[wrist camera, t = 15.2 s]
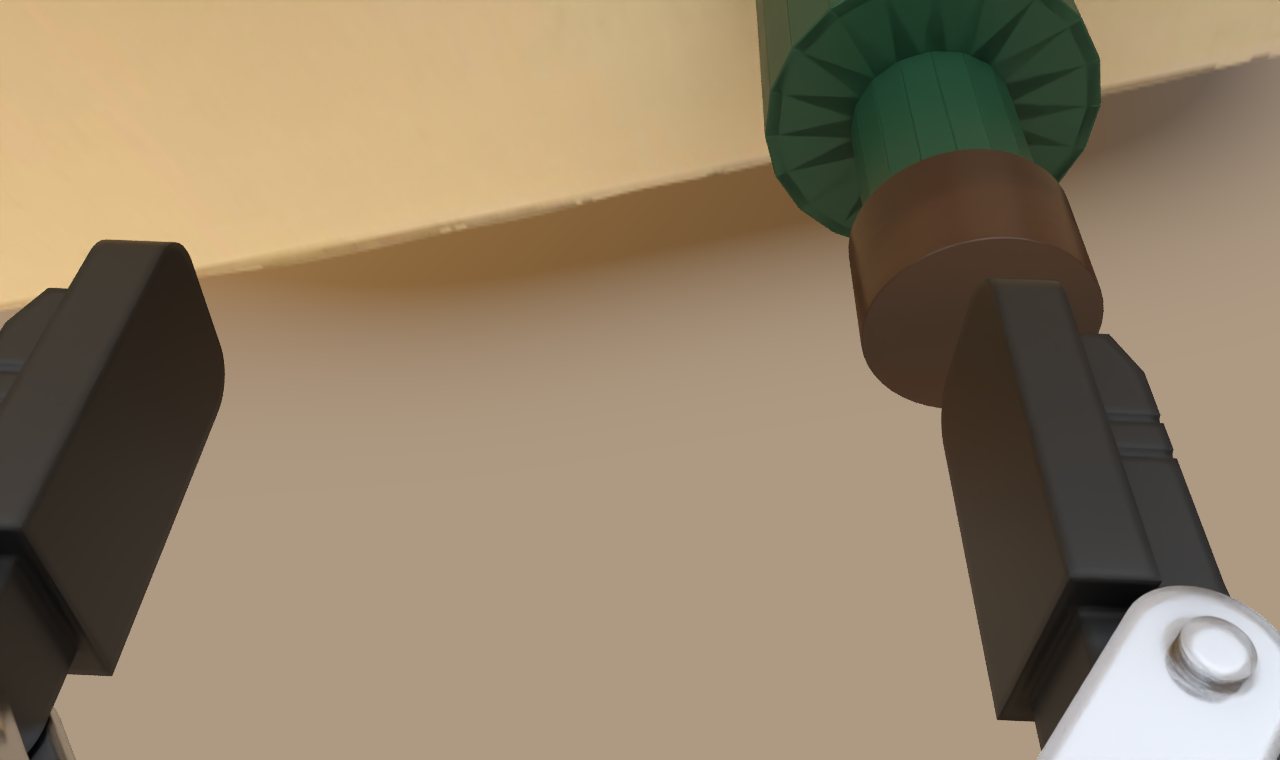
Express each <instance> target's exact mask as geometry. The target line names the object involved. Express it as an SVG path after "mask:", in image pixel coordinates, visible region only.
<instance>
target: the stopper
mask: <svg viewBox="0 0 1280 760" xmlns="http://www.w3.org/2000/svg"><path fill="white" fill-rule="evenodd" d="M849 260H850V268H851V275H852V282H853V289H854V296H855V303H856V311H857V318H858V325H859V332H860V339H861V346H862V350H863V355H864V358H865V359H866V362H867V364H868V366H869V368H870V369H871V371H872V372H873V374H874V375H875V376H876V377H877V378H878V379H879V380H880V381H881V382H882V383H883V384H884V385H885V386H886V387H888V388H889V389H890V390H892V391H893V392H895V393H897V394H898V395H900V396H902V397H904V398H906V399H909V400H911V401H914V402H916V403H920V404H923V405H927V406H933V407H937V408H942V400H943V392H944V387H945V383H946V379H947V376H948V372H949V369H950V366H951V363H952V359H953V356H954V353H955V350H956V346H957V343H958V340H959V337H960V333H961V330H962V327H963V324H964V321H965V317H966V314H967V311H968V308H969V304H970V301H971V298H972V295H973V292H974V289H975V287H976V285H977V283H978V282H979V280H981V279H982V278H1003V279H1028V280H1052V281H1058V282H1059V283H1061V284H1062V286H1063V287H1064V289H1065V292H1066V294H1067V297H1068V300H1069V303H1070V306H1071V309H1072V312H1073V315H1074V318H1075V321H1076V324H1077V327H1078V330H1079V333H1091V334H1098V333H1099V330H1100V327H1101V324H1102V318H1103V312H1104V310H1103V297H1102V293H1101V289H1100V286H1099V284H1098V281H1097V278H1096V275H1095V273H1094V270H1093V267H1092V265H1091V262H1090V259H1089V256H1088V254H1087V251H1086V248H1085V245H1084V243H1083V240H1082V237H1081V234H1080V232H1079V229H1078V226H1077V224H1076V221H1075V218H1074V216H1073V213H1072V210H1071V207H1070V205H1069V202H1068V199H1067V197H1066V195H1065V193H1064V191H1063V189H1062V188H1061V186H1060V185H1059V183H1058V182H1057V180H1056V179H1055V178H1054V177H1053V176H1052V175H1051V174H1050V173H1049V172H1047V171H1046V170H1045V169H1043V168H1042V167H1041V166H1039V165H1038V164H1036V163H1034V162H1032V161H1030V160H1028V159H1026V158H1024V157H1021V156H1018V155H1015V154H1012V153H1008V152H1003V151H999V150H988V149H966V150H958V151H951V152H947V153H942V154H938V155H935V156H932V157H929V158H926V159H923V160H921V161H919V162H916V163H914V164H912V165H910V166H908V167H906V168H904V169H903V170H901V171H899V172H898V173H896V174H894V175H893V176H892V177H890V178H889V179H888V180H886V181H885V182H884V183H883V184H882V185H881V186H880V187H878V188H877V189H876V190H875V191H874V192H873V193H872V195H871V196H870V197H869V198H868V199H867V201H866V202H865V203H864V205H863V206H862V208H861V210H860V211H859V213H858V215H857V217H856V219H855V221H854V223H853V226H852V230H851V233H850V238H849Z"/></svg>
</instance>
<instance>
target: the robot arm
mask: <svg viewBox="0 0 1280 760" xmlns="http://www.w3.org/2000/svg"><path fill="white" fill-rule="evenodd" d="M224 371H225V370H224V359H223V353H222V349H221V346H220V343H219V340H218V337H217V334H216V331H215V328H214V325H213V322H212V319H211V316H210V313H209V311H208V308H207V305H206V302H205V299H204V296H203V293H202V290H201V287H200V284H199V281H198V278H197V275H196V272H195V269H194V266H193V263H192V260H191V258H190V256H189V254H188V252H187V250H186V249H185V248H184V246H183V245H181V244H180V243H176V242H154V241H130V240H101V241H99V242H97V243H96V244H95V245H94V246H93V248H92V249H91V251H90V252H89V254H88V255H87V257H86V259H85V261H84V262H83V264H82V266H81V267H80V269H79V271H78V273H77V274H76V276H75V278H74V279H73V281H72V283H71V285H70V286H69V288H68V289H62V288H47V289H46V290H45V291H44V292H43V293H41V294H40V295H39V296H38V297H36V298H35V299H34V300H33V301H31V302H30V303H29V304H28V305H26V306H25V307H24V308H23V309H22V310H20V311H19V312H18V313H17V314H15V315H14V316H13V317H12V318H10V319H9V320H8V321H7V322H6V323H5V324H4V326H3V328H2V329H1V331H0V760H76V759H75V756H74V753H73V751H72V748H71V745H70V743H69V740H68V737H67V735H66V732H65V730H64V727H63V725H62V722H61V719H60V717H59V715H58V713H57V711H56V710H55V708H54V707H53V706H54V703H55V701H56V699H57V696H58V694H59V692H60V689H61V687H62V685H63V683H64V680H65V678H66V675H67V674H78V675H98V676H99V675H100V676H112V675H113V672H114V670H115V667H116V665H117V662H118V660H119V657H120V655H121V652H122V650H123V647H124V645H125V642H126V640H127V637H128V635H129V632H130V630H131V627H132V625H133V623H134V620H135V617H136V615H137V612H138V610H139V607H140V605H141V603H142V600H143V597H144V595H145V593H146V590H147V587H148V585H149V582H150V580H151V578H152V575H153V573H154V570H155V568H156V565H157V562H158V560H159V558H160V555H161V553H162V550H163V548H164V545H165V543H166V540H167V538H168V535H169V533H170V530H171V528H172V525H173V523H174V520H175V518H176V515H177V513H178V510H179V508H180V505H181V503H182V500H183V498H184V495H185V493H186V490H187V488H188V485H189V483H190V480H191V478H192V476H193V473H194V470H195V468H196V465H197V463H198V460H199V458H200V456H201V453H202V451H203V448H204V446H205V443H206V441H207V438H208V436H209V433H210V431H211V428H212V426H213V423H214V421H215V418H216V416H217V413H218V411H219V407H220V405H221V401H222V397H223V391H224V378H225V377H224V376H225V372H224ZM941 415H942V416H941V417H942V418H941V419H942V420H941V422H942V423H941V424H942V437H943V444H944V450H945V455H946V460H947V465H948V470H949V475H950V480H951V486H952V490H953V496H954V501H955V506H956V511H957V516H958V522H959V527H960V532H961V537H962V542H963V547H964V552H965V558H966V562H967V568H968V573H969V578H970V583H971V588H972V593H973V598H974V604H975V609H976V614H977V619H978V624H979V629H980V635H981V639H982V645H983V650H984V655H985V660H986V665H987V671H988V676H989V681H990V686H991V691H992V696H993V701H994V707H995V712H996V717H997V720H1012V721H1033V722H1035V724H1036V729H1037V734H1038V738H1039V743H1040V747H1041V753H1040V755H1039V756H1038V758H1037V759H1036V760H1280V634H1279V632H1278V631H1277V630H1276V629H1275V628H1274V627H1273V626H1272V625H1271V624H1270V623H1269V622H1268V621H1267V620H1265V619H1264V618H1263V617H1262V616H1260V615H1259V614H1258V613H1257V612H1255V611H1254V610H1252V609H1251V608H1249V607H1248V606H1246V605H1244V604H1243V603H1241V602H1239V601H1237V600H1235V599H1233V598H1231V597H1230V595H1229V593H1228V591H1227V589H1226V587H1225V584H1224V582H1223V579H1222V577H1221V574H1220V571H1219V569H1218V566H1217V564H1216V561H1215V558H1214V556H1213V553H1212V550H1211V548H1210V545H1209V542H1208V540H1207V537H1206V534H1205V532H1204V529H1203V526H1202V524H1201V521H1200V519H1199V516H1198V513H1197V511H1196V508H1195V505H1194V503H1193V500H1192V497H1191V495H1190V492H1189V490H1188V487H1187V484H1186V482H1185V479H1184V476H1183V474H1182V471H1181V469H1180V466H1179V464H1178V461H1177V459H1175V458H1173V455H1172V453H1173V447H1172V445H1171V442H1170V439H1169V437H1168V434H1167V431H1166V429H1165V426H1164V424H1163V423H1160V421H1159V418H1160V413H1159V410H1158V408H1157V405H1156V402H1155V400H1154V397H1153V394H1152V392H1151V389H1150V386H1149V384H1148V381H1147V379H1146V376H1145V373H1144V372H1143V371H1142V370H1141V368H1140V367H1139V366H1138V365H1137V364H1136V363H1135V362H1134V361H1133V360H1132V359H1131V358H1130V357H1129V355H1128V354H1127V353H1126V352H1125V351H1124V350H1123V349H1122V348H1121V347H1120V346H1119V345H1118V344H1117V342H1116V341H1115V340H1114V339H1113V338H1112V337H1111V336H1110V335H1109V334H1091V333H1079V330H1078V327H1077V324H1076V321H1075V318H1074V315H1073V312H1072V309H1071V306H1070V303H1069V300H1068V297H1067V294H1066V292H1065V289H1064V287H1063V286H1062V284H1061V283H1059V282H1058V281H1052V280H1028V279H1003V278H982V279H981V280H979V282H978V283H977V285H976V287H975V289H974V292H973V295H972V298H971V301H970V304H969V308H968V311H967V314H966V317H965V321H964V324H963V327H962V330H961V333H960V337H959V340H958V343H957V346H956V350H955V353H954V356H953V359H952V363H951V366H950V369H949V372H948V376H947V379H946V383H945V387H944V392H943V400H942V414H941Z"/></svg>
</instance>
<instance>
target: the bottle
mask: <svg viewBox="0 0 1280 760" xmlns="http://www.w3.org/2000/svg"><path fill="white" fill-rule="evenodd" d="M756 8H757V23H758V38H759V53H760V68H761V82H762V97H763V112H764V127H765V138H766V142H767V146H768V150H769V153H770V157H771V161H772V165H773V169H774V173H775V175H776V177H777V179H778V180H779V181H780V183H781V184H782V186H783V187H784V188H785V189H786V191H787V192H788V194H789V195H790V197H791V198H792V199H793V201H794V202H795V203H796V205H797V206H798V208H800V209H801V210H802V211H803V212H805V213H806V214H808V215H809V216H811V217H812V218H813V219H815V220H816V221H818V222H819V223H821V224H822V225H824V226H825V227H827V228H829V229H830V230H831V231H832V232H835V233H837V234H840V235H843V236H846V237H849V238H850V233H851V230H852V226H853V223H854V221H855V219H856V217H857V215H858V213H859V211H860V210H861V208H862V206H863V205H864V203H865V202H866V201H867V199H868V198H869V197H870V196H871V195H872V193H873V192H874V191H875V190H876V189H877V188H878V187H880V186H881V185H882V184H883V183H884V182H885V181H886V180H888V179H889V178H890V177H892V176H893V175H894V174H896V173H898V172H899V171H901V170H903V169H904V168H906V167H908V166H910V165H912V164H914V163H916V162H919V161H921V160H923V159H926V158H929V157H932V156H935V155H938V154H942V153H947V152H951V151H958V150H966V149H988V150H999V151H1003V152H1008V153H1012V154H1015V155H1018V156H1021V157H1024V158H1026V159H1028V160H1030V161H1032V162H1034V163H1036V164H1038V165H1039V166H1041V167H1042V168H1043V169H1045V170H1046V171H1047V172H1049V173H1050V174H1051V175H1052V176H1053V177H1054V178H1055V179H1056V180H1057V182H1058V183H1059V182H1060V181H1061V179H1062V178H1063V177H1064V175H1065V174H1066V173H1067V171H1068V170H1069V169H1070V168H1071V166H1072V165H1073V164H1074V162H1075V161H1076V160H1077V158H1078V157H1079V156H1080V154H1081V153H1082V152H1083V150H1084V148H1085V147H1086V144H1087V141H1088V138H1089V136H1090V132H1091V130H1092V127H1093V124H1094V122H1095V119H1096V116H1097V113H1098V111H1099V108H1100V103H1101V86H1100V59H1099V55H1098V53H1097V51H1096V48H1095V46H1094V44H1093V42H1092V40H1091V37H1090V35H1089V33H1088V31H1087V29H1086V26H1085V24H1084V22H1083V20H1082V17H1081V15H1080V13H1079V11H1078V9H1077V7H1076V5H1075V2H1074V0H756Z"/></svg>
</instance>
